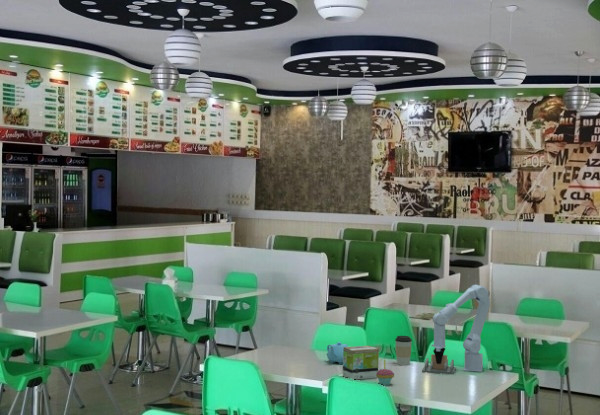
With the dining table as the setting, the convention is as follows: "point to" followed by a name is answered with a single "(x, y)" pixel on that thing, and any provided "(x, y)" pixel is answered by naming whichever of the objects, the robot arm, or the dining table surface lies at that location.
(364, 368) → the tea box
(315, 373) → the dining table surface
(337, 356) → the teapot
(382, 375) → the cupcake
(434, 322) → the robot arm
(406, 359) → the coffee cup
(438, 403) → the dining table surface
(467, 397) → the dining table surface
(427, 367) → the dish rack
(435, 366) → the tall tan block
